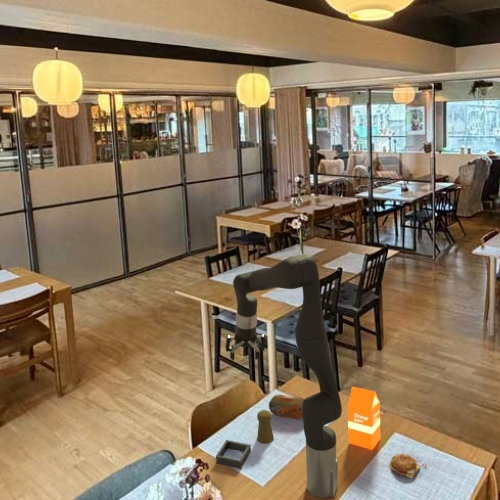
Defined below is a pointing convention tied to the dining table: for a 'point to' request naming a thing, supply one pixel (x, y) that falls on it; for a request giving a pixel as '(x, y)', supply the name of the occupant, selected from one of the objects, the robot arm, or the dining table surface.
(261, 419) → the cork
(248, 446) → the steel collar
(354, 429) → the orange juice
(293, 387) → the dining table surface
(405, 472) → the hamburger
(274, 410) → the tin
